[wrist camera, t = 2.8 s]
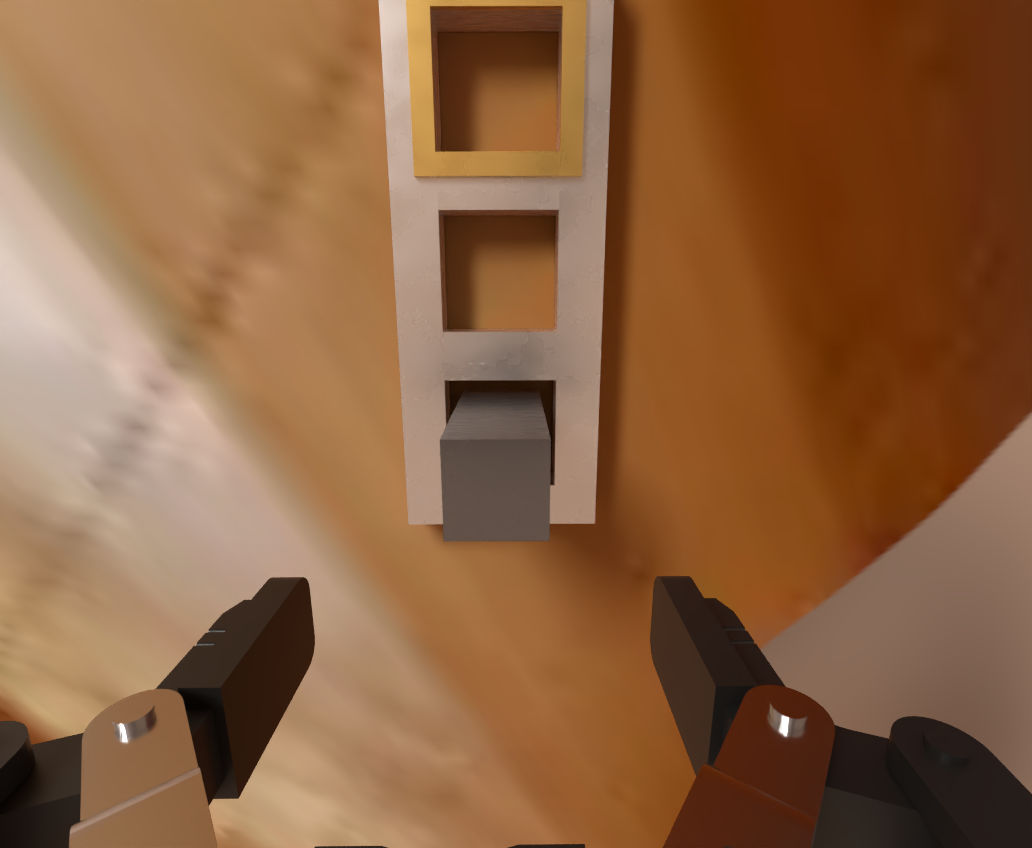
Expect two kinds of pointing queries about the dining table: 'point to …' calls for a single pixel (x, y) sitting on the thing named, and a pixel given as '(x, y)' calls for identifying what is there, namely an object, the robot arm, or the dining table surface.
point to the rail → (499, 191)
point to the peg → (496, 467)
